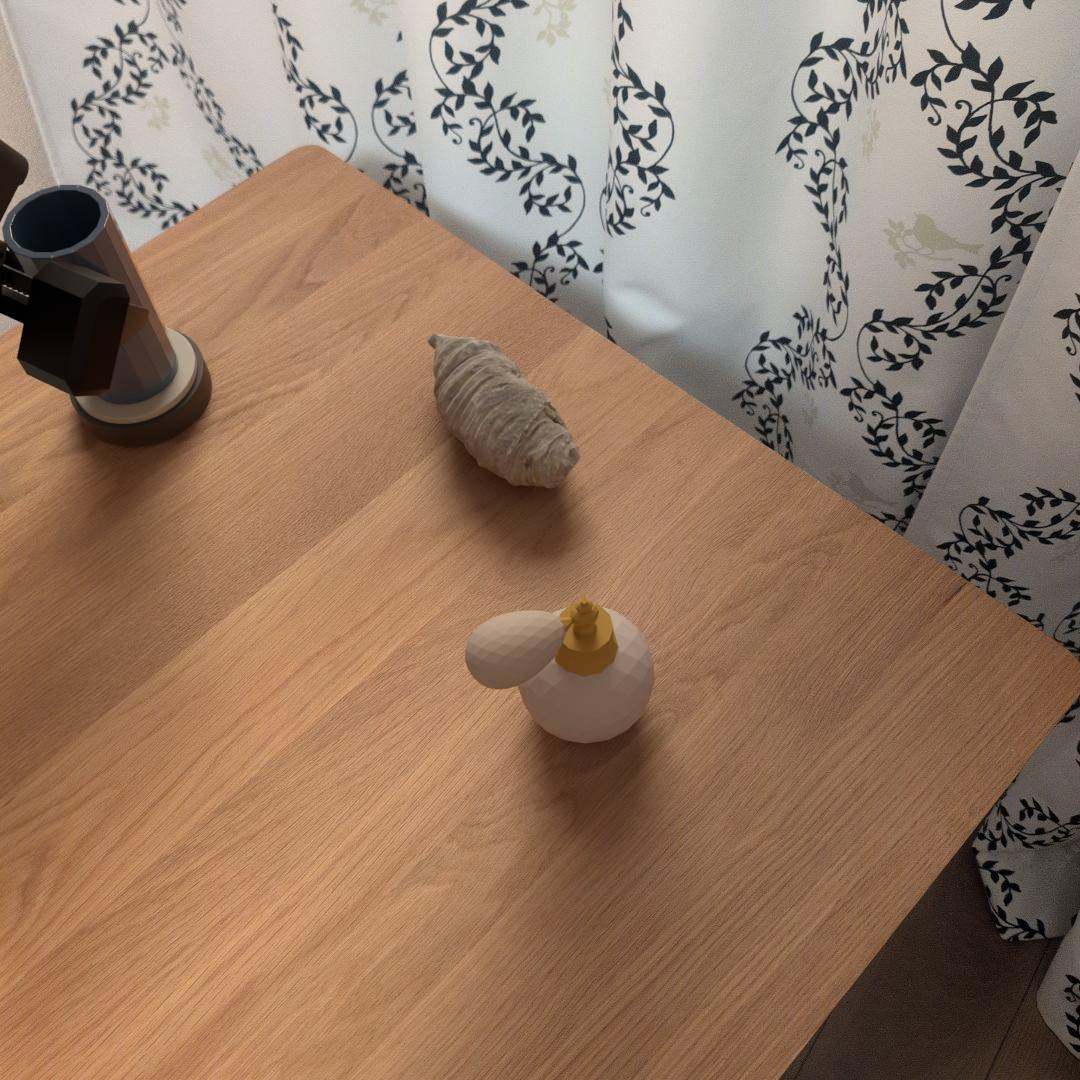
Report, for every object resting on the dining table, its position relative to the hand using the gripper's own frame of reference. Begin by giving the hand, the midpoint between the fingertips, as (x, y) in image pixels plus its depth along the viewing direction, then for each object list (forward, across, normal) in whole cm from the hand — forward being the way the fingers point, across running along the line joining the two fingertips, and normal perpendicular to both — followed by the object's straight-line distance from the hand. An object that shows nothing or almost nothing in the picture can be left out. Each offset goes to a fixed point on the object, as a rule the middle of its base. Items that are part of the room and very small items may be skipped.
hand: (87, 291), depth 70 cm
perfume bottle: (+3, -37, +12) cm, 39 cm away
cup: (+6, 0, +5) cm, 8 cm away
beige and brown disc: (+8, 0, +7) cm, 10 cm away
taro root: (+13, -23, +1) cm, 27 cm away
